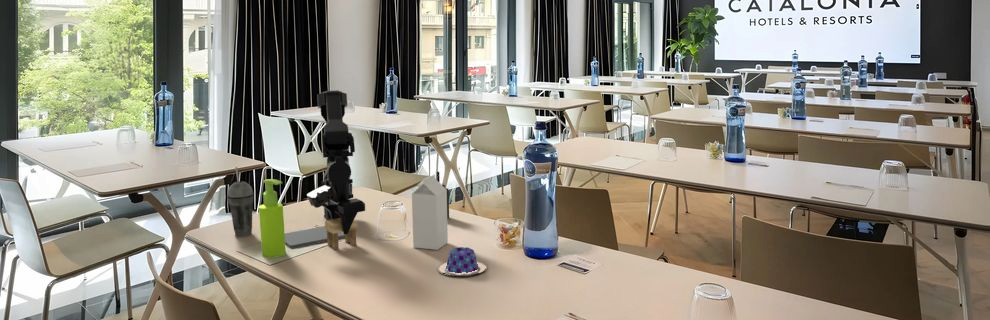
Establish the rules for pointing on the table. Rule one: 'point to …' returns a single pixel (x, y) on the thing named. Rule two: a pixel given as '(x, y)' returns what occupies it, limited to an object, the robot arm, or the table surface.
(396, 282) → the table surface
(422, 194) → the milk carton
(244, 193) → the beverage cup
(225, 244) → the table surface
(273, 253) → the soap dispenser
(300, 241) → the grey rectangular board
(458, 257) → the pudding
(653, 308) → the table surface
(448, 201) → the walkie-talkie
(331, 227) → the oak stool
